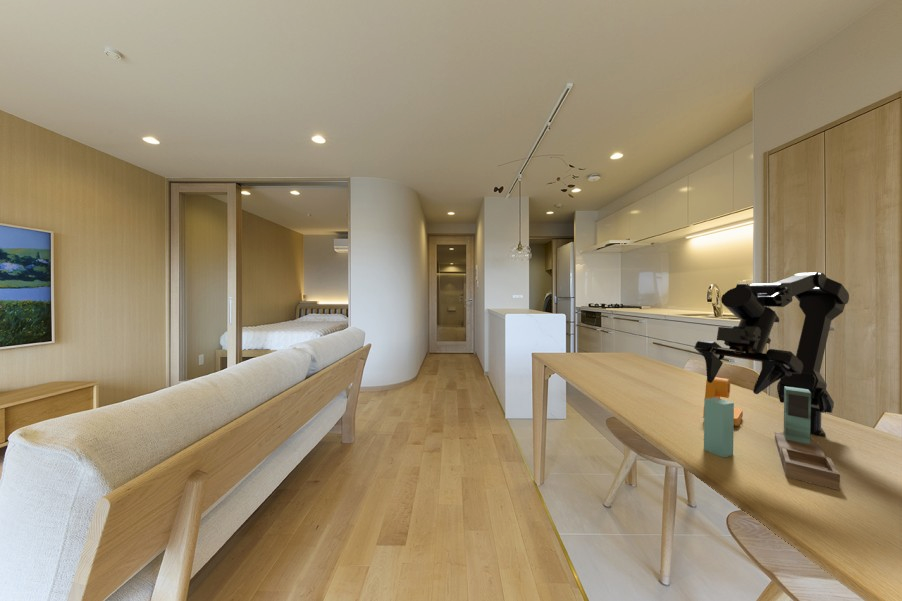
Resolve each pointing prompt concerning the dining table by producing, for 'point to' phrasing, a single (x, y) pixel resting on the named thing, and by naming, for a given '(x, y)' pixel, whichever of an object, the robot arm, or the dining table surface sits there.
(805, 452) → the brown wooden stand
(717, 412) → the finger block
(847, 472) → the dining table surface
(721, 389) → the bracket
